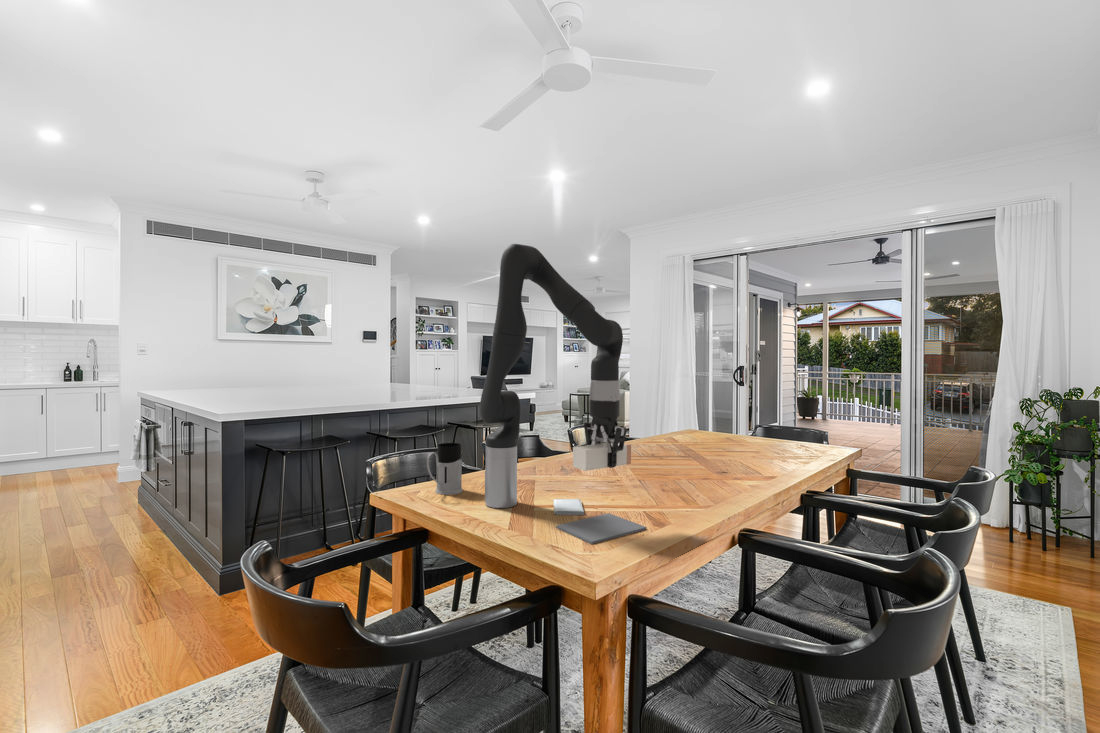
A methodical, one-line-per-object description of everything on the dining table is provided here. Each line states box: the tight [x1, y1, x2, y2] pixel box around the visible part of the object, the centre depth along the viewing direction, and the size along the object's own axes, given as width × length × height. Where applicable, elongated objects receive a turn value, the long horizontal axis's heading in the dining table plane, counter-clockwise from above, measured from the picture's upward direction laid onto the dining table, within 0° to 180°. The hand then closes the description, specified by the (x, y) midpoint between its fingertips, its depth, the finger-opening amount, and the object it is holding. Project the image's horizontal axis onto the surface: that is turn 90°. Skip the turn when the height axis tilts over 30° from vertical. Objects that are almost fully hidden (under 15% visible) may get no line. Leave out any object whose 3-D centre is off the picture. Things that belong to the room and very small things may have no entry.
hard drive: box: [552, 498, 585, 516], centre depth 146 cm, size 2×8×12 cm
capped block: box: [572, 442, 632, 471], centre depth 129 cm, size 5×5×15 cm
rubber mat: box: [555, 512, 648, 545], centre depth 129 cm, size 14×18×1 cm
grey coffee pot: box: [426, 442, 464, 496], centre depth 162 cm, size 9×14×15 cm, turn 150°
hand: (604, 465), depth 129 cm, fingers closed on capped block, 5 cm apart
